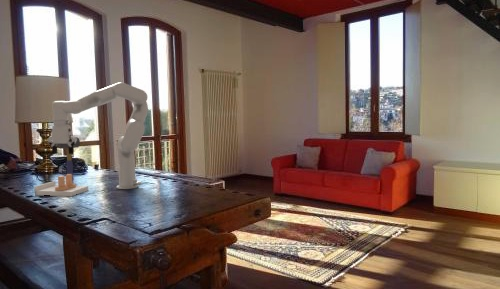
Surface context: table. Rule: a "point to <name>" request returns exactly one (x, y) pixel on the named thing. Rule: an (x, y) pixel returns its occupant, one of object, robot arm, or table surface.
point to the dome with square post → (61, 184)
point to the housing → (50, 190)
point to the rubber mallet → (69, 156)
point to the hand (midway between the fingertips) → (63, 153)
